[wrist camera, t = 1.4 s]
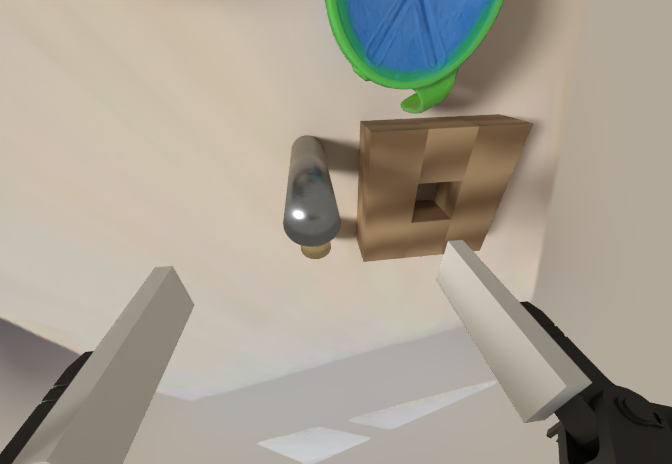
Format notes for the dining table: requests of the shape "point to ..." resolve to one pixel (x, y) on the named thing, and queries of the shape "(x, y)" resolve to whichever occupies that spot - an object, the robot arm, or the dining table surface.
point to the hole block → (432, 181)
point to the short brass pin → (316, 251)
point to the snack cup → (411, 42)
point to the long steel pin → (310, 196)
